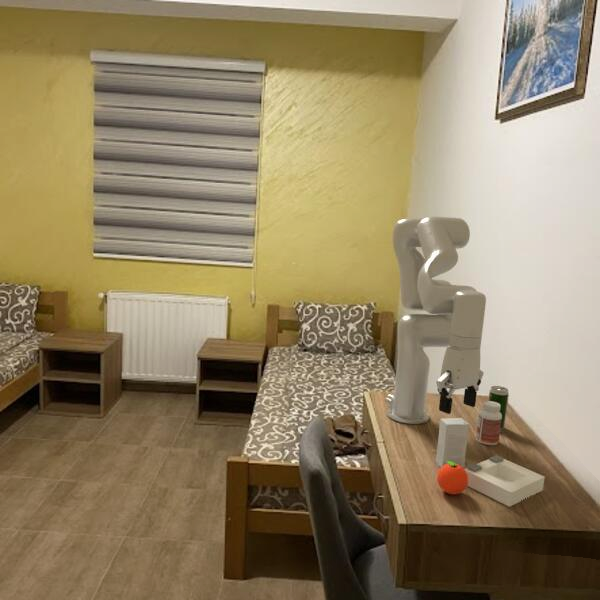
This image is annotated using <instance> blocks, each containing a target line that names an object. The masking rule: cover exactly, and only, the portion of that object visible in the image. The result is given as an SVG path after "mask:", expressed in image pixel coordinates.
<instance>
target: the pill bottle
mask: <svg viewBox="0 0 600 600" xmlns="http://www.w3.org/2000/svg"><path fill="white" fill-rule="evenodd" d="M500 407H501V405H500V404H499V403H497V402H493V401H488V400H486V401H483V403H482V409H480V410H479V413H478V416H477V417H478V418H477V425H476V426H477V427H476V434H475V435H476V436H475V439H476V441H477V442H478V443H480V444H483V445H487V446H496V445H498V444H499V441H500V434H501V430H500V428H501V420H502V414H501V413H500V412H499V411H500Z"/></svg>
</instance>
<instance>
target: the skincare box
mask: <svg viewBox="0 0 600 600" xmlns="http://www.w3.org/2000/svg"><path fill="white" fill-rule="evenodd" d="M469 428H470V424H469V423H468V422H467V421H466V420H464V419H463V418H462V417H456V418H455V417H453V418H452V417H451V418H449V417H448V418H440V420H439V429H438V430H439V431H438V439H437V447H436V456H435V457H436V459H435V463H436V464H437V465H438V466H439V467H440V468H441V467H443V466H444V465H446V464H449V463H447V462H448V461H451V462H454V463H455V464H458V465H460V466H461V467H462V468H464V469H465V462H466V452H467V446H468V437H469V436H468V435H469V430H470V429H469ZM444 462H445V463H444ZM443 463H444V464H443ZM442 465H443V466H442Z"/></svg>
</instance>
